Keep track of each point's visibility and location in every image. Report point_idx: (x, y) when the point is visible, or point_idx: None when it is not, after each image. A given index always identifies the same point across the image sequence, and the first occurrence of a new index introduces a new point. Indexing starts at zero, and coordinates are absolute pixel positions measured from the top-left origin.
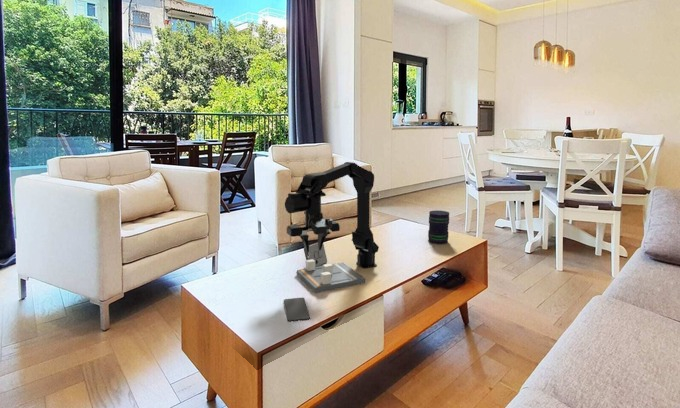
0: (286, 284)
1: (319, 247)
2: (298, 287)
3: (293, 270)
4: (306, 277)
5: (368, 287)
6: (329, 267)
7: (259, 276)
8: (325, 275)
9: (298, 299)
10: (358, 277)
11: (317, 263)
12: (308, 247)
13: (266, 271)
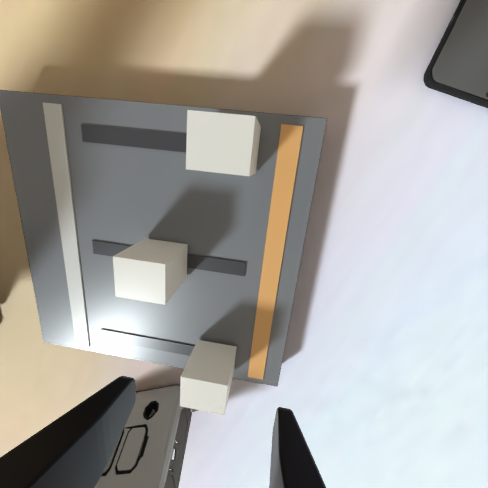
0: (379, 306)
1: (111, 415)
2: (352, 242)
3: (264, 411)
4: (286, 283)
5: (30, 33)
6: (140, 256)
7: (424, 439)
8: (237, 115)
9: (475, 65)
10: (31, 122)
11: (150, 400)
12: (289, 476)
13: (366, 461)
